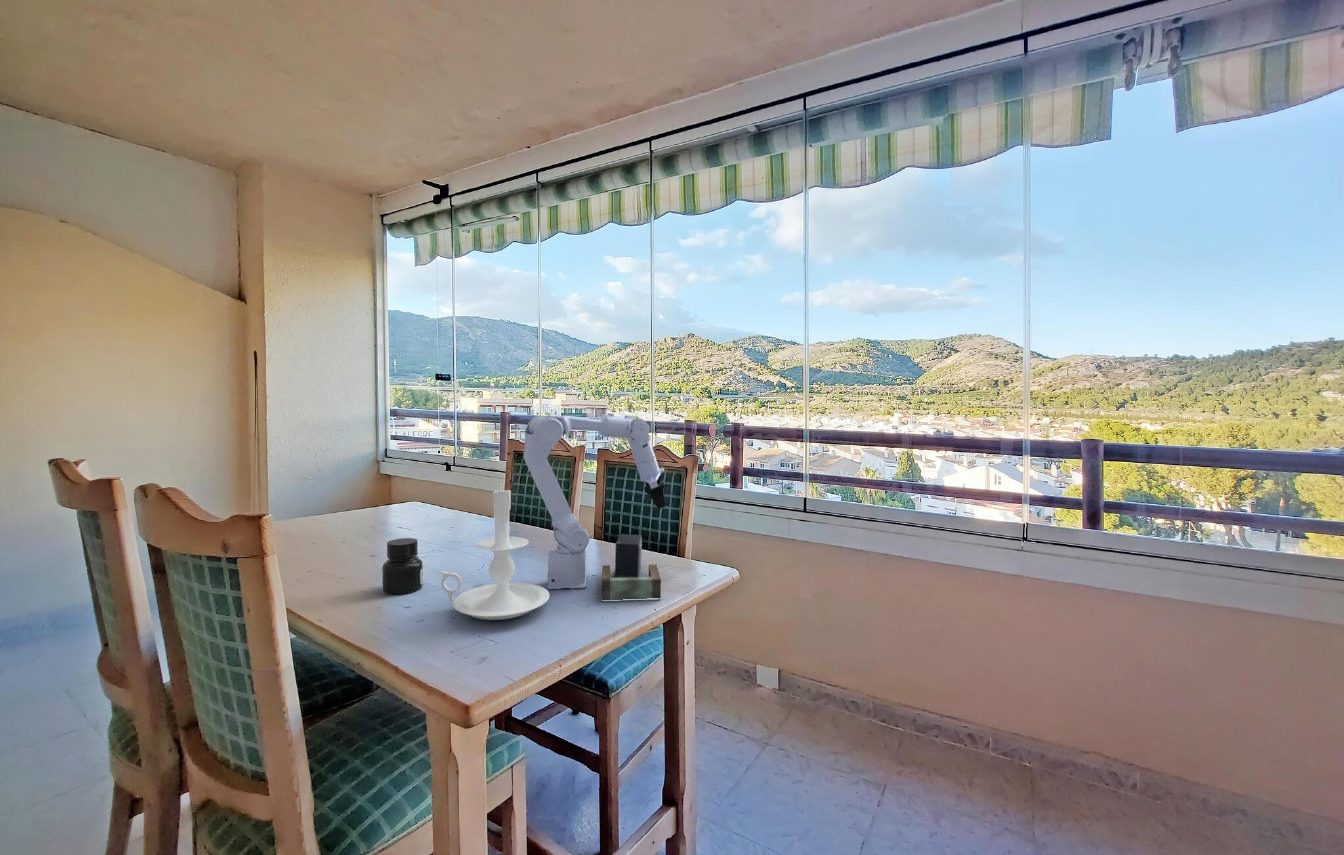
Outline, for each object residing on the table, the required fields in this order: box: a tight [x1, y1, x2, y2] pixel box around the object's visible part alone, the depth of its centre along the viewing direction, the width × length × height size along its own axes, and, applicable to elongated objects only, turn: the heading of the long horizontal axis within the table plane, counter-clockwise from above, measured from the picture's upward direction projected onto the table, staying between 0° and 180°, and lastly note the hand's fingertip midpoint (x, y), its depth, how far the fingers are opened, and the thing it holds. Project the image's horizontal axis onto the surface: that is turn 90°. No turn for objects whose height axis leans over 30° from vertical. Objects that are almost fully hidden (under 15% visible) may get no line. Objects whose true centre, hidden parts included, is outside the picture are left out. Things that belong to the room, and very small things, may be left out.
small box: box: [614, 533, 643, 578], centre depth 148 cm, size 11×6×10 cm, turn 179°
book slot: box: [601, 564, 662, 601], centre depth 136 cm, size 14×12×5 cm
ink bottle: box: [381, 537, 424, 595], centre depth 136 cm, size 10×9×12 cm
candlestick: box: [438, 487, 550, 621], centre depth 122 cm, size 21×25×28 cm
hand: (660, 502), depth 155 cm, fingers open, 7 cm apart
